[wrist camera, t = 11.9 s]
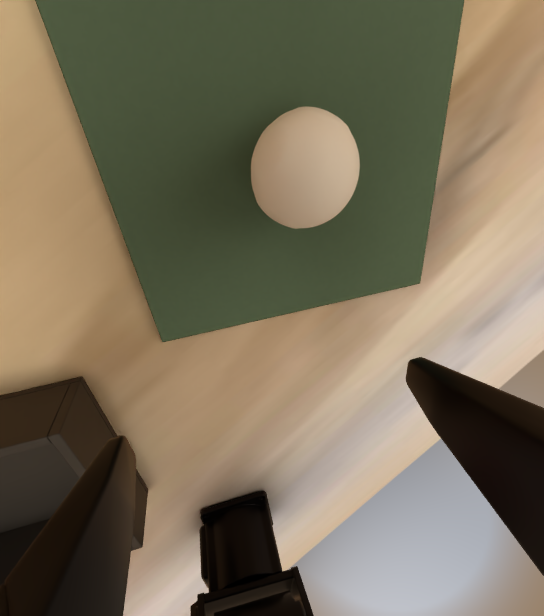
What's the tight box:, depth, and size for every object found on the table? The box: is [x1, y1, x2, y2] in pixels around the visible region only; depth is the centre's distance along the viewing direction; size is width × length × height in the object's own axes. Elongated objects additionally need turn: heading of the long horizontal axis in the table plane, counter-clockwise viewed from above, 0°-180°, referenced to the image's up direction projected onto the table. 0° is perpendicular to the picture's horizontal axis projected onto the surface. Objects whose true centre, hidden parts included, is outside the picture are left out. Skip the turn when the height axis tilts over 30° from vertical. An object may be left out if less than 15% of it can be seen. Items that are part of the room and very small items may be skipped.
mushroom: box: [251, 106, 360, 229], centre depth 14 cm, size 5×5×5 cm
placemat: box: [35, 0, 464, 342], centre depth 16 cm, size 18×18×1 cm
